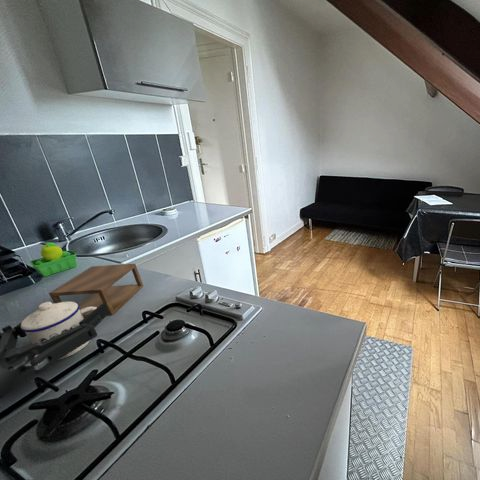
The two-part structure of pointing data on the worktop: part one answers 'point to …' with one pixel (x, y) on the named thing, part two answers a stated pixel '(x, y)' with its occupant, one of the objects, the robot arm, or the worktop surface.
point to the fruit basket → (54, 260)
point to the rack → (100, 287)
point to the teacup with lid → (53, 322)
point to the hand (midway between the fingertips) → (77, 310)
